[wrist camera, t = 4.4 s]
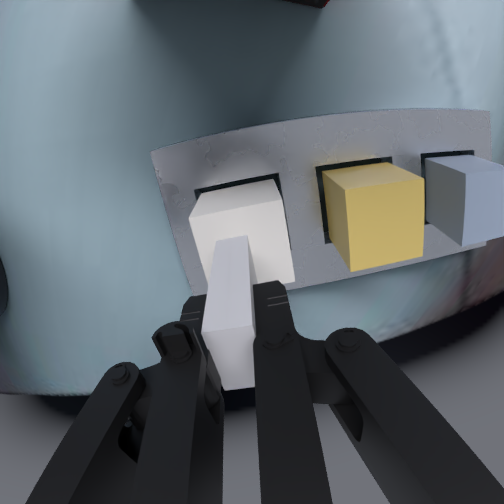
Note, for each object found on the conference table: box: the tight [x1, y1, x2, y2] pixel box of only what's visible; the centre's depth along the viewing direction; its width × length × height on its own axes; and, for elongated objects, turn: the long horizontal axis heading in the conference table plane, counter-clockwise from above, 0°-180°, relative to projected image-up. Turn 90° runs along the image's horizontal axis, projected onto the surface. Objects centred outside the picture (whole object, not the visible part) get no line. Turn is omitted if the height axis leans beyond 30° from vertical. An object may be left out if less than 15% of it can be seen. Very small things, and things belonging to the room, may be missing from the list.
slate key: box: [425, 155, 504, 247], centre depth 17 cm, size 5×5×5 cm
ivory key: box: [189, 179, 295, 285], centre depth 19 cm, size 5×5×5 cm
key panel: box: [150, 108, 492, 296], centre depth 21 cm, size 26×12×2 cm, turn 101°
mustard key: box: [322, 162, 424, 272], centre depth 18 cm, size 5×5×5 cm
